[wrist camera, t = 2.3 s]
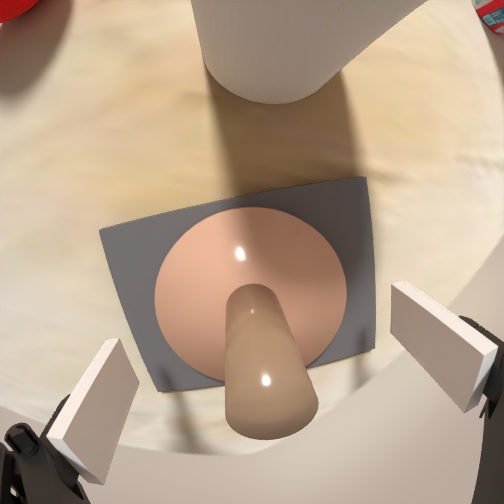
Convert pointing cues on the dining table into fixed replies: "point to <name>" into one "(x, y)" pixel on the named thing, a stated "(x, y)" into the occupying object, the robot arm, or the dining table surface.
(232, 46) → the white round pillar
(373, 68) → the dining table surface
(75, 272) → the dining table surface
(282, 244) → the lid
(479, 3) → the cup
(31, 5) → the ornament
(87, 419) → the robot arm
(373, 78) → the dining table surface
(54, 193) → the dining table surface
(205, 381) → the mat
